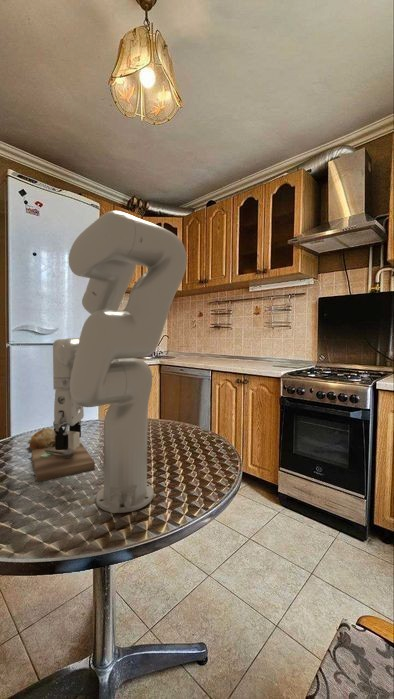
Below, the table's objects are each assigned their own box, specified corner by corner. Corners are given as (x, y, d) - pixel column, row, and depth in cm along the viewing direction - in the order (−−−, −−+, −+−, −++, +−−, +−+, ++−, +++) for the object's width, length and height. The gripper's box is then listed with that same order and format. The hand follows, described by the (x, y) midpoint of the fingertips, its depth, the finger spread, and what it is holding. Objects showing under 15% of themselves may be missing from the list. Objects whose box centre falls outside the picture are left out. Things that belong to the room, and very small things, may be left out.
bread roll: (41, 466, 92) (49, 444, 91) (18, 448, 95) (26, 426, 94) (65, 454, 102) (73, 434, 100) (43, 438, 104) (51, 418, 103)
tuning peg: (80, 455, 86) (80, 431, 85) (72, 460, 82) (72, 435, 82) (50, 450, 89) (50, 427, 89) (41, 454, 86) (41, 430, 86)
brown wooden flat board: (94, 469, 82) (94, 462, 82) (36, 481, 74) (36, 474, 74) (80, 448, 97) (80, 442, 97) (31, 457, 90) (31, 450, 90)
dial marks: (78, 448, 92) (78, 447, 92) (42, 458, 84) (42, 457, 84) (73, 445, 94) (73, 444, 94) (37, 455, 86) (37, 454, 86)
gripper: (70, 387, 76) (71, 454, 76) (91, 379, 93) (91, 433, 93) (39, 387, 75) (40, 455, 76) (66, 379, 93) (67, 434, 93)
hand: (68, 443), depth 84 cm, fingers open, 9 cm apart
